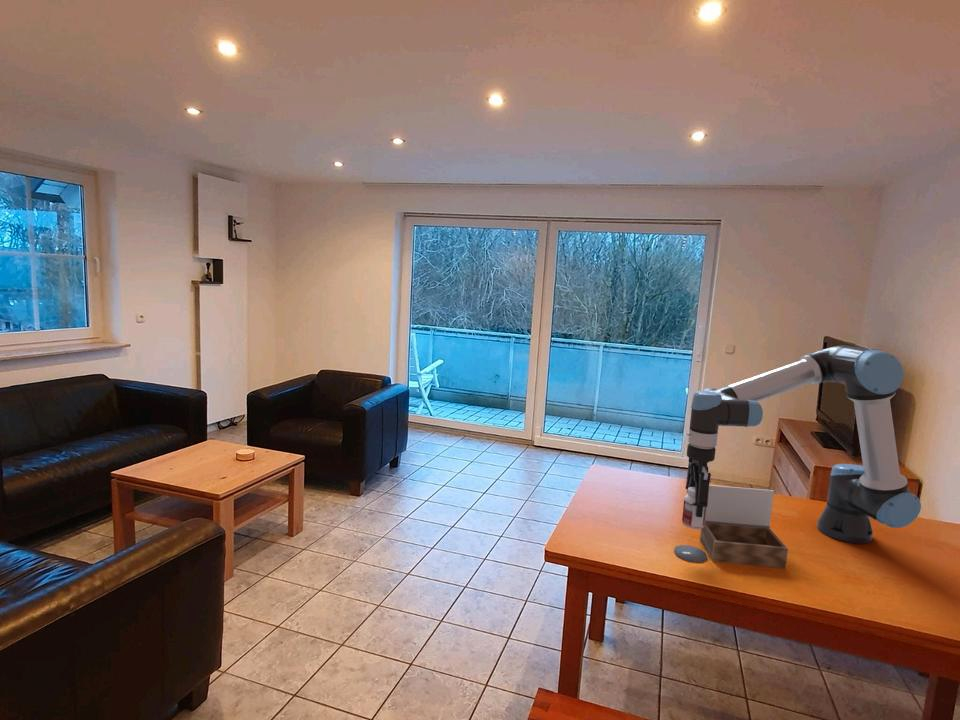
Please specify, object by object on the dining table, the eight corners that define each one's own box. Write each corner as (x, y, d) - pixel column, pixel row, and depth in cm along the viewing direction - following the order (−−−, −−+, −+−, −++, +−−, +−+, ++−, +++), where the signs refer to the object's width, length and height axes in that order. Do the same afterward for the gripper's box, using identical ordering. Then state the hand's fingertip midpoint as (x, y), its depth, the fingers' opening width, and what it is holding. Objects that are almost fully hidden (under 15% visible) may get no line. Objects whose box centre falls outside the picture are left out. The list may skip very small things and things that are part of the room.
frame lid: (768, 527, 165) (773, 490, 163) (769, 529, 164) (774, 491, 162) (701, 521, 167) (705, 484, 166) (702, 523, 166) (706, 485, 165)
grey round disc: (701, 548, 162) (701, 546, 162) (710, 563, 154) (710, 561, 153) (670, 545, 163) (671, 543, 163) (678, 560, 155) (678, 558, 154)
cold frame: (761, 540, 169) (766, 504, 167) (785, 568, 153) (790, 528, 151) (696, 534, 172) (700, 498, 170) (712, 561, 155) (717, 522, 153)
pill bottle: (690, 519, 161) (693, 484, 160) (708, 527, 156) (712, 491, 155) (677, 523, 158) (680, 487, 156) (695, 532, 153) (699, 495, 151)
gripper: (679, 434, 163) (672, 506, 167) (697, 454, 144) (688, 534, 148) (705, 436, 162) (697, 508, 166) (726, 456, 144) (716, 537, 147)
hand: (693, 520), depth 157 cm, fingers closed on pill bottle, 6 cm apart
